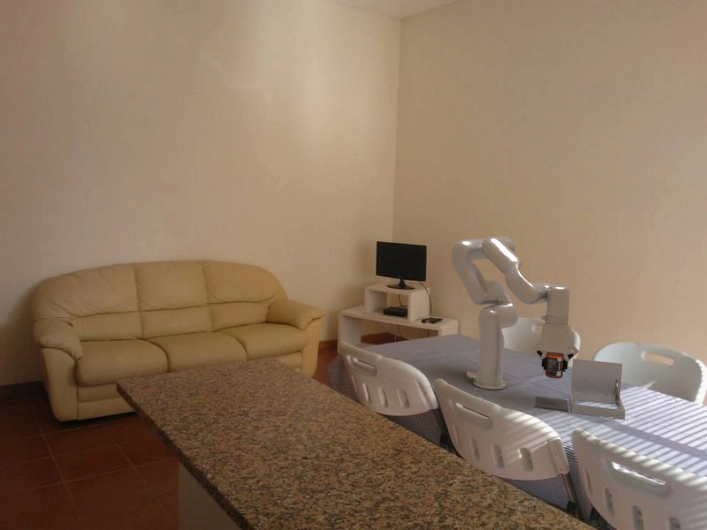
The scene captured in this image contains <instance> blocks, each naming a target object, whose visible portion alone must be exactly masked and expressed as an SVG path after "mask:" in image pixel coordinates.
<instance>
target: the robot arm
mask: <svg viewBox="0 0 707 530" xmlns="http://www.w3.org/2000/svg"><path fill="white" fill-rule="evenodd" d="M515 249H516V247H515V243H514V241H513V240H512V239H511V238H510V237H508V236H506V235H505V236H504V235H503V236H502V235H500V236H490V237H486V238H465V239H461V240H458V241H456V242H455V243H454V245H453V246H452V247H451V251H450V262H451V264H452V267H453V269H454V270H455V272H456V274H457V276H458V277H459V278H460V280H461V282H462V284H463V287H464V288H465V291H466V293H467V294H468V296H469V298H470V300H471V302H472V303H473V304H474V305H476V306H477V307H479V306H480V307H481V306H486V307H484V308H482V309H481V310H480V312H479V314H478V316H477V322H478V328H479V330H478V331H479V343H478V344H479V346H478V365H477V367H478V368H477V371H475V372H472V371H466V377H468V378H469V379H474V380H473V385H475V386H476V387H478V388H480V389H484V390H494V391H495V390H502V389H503V390H504V389H505V388H506V387H507V382H506V381H505V380H503V379H504V378H503V376H504V375H503V374H504V359H505V358H504V357H505V355H504V354H505V337H504V333H503V329H507V328H512V327H513V326H515V325H516V324H517V323H518V321H519V313H518V310H517V308H516V305H515V303H514V302H513V300H512V298H511V296H510V295H509V293H508V291H507V289H506V287H505V286H504V285H503V284H502V283H500V282H499V281H497V280H486V278H485V277H484V275H483V273H482V271H481V269H480V268H479V267H478V266H477V265H476V264H475V263H474V262H473V261H475V260H487V259H488V260H489V261H490V263H492V264H493V266H495V268H497V269H498V270H499V271H500V272H501V273H502V275H504V281H505V283H506V286H507V288H508V289H509V291H510V292H511V293H512V294H513V295H514V296H515V297H516V298H517V299H518V300H519V301H520V302H521V303H523V304H525V305H529V306H531V305H536V304H545V303H546V308H545V309H546V310H545V315H541V320H542V321H545V322H543V324H542V327H541V333H540V334H541V335H540V340H539V341H537V342H536V343H535V344H534V345H533V346H532V350H534V351H535V353H536V354H537V355H538V356H539V357H540V358H541V368H543V371H545V370H546V354H547V352H549V353H560V354H563V355H564V363H563V373H566V370H568V369H569V368H568V366H569V365H568V364H569V361H570V360H571V359H573V358H574V357H575V356H576V355H577V354H579V352H580V351H579V349H578V348H577V347H576V345H574V344H573V342H572V329H571V325H570V324H569V317H570V315H569V314H570V313H569V312H570V298H571V295H570V294H571V292H570V291H571V290H570V287H569V286H567V285H561V284H552V283H550V282H545V281H540V282H529V281H528V280H527V279H526V278H525V277H524V276H523V275H522V273H521V272H520V269H521V268H522V264H523V260H522V258H520V257H519V256H518V255H517V254H516V252H515ZM489 305H490V306H489ZM539 347H540V349H539ZM571 351H572V352H571Z"/></svg>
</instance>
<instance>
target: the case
mask: <svg viewBox="0 0 707 530" xmlns="http://www.w3.org/2000/svg"><path fill="white" fill-rule="evenodd" d="M571 369H572V370H571V382H570V398H569V399H570V400H569V401H570V407H571V413H573V414H580V415H586V416H587V415H588V416H595V417H600V416H603V417H602V418H608V417H613V418H612V419H615V418H618V419H617V420H624V421H625V419H626V410H625V406H624V403H623V401H622V398H621V386H622V378H623V377H622V375H623V363H618V362H609V361H602V360H601V361H599V360H590V359H583V358H582V359H581V358H572V368H571ZM575 401H582V402H591V403H599V404H605V403H608V404H607V405H613V404H615V405H614V406H617V409H616V408H609V407H604V406H603V407H601V406H594V405H587V404H578V403H576V402H575Z"/></svg>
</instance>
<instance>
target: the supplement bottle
mask: <svg viewBox="0 0 707 530" xmlns="http://www.w3.org/2000/svg"><path fill="white" fill-rule="evenodd" d="M563 363H564V355H563V354H560V353H549V352H547V354H546V370H544V371H545V373H544V375H545V376H546V377H547V378H550V379H555V380H557V379H561V378H563V375H564V372H563Z"/></svg>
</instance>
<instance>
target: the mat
mask: <svg viewBox="0 0 707 530" xmlns="http://www.w3.org/2000/svg"><path fill="white" fill-rule="evenodd" d="M534 401H535V402H534V408H536V409H544V410H550V411H552V410H553V411H558V412H565V413H569V404H568V399H560V398H555V397H545V396H537V395H535V400H534Z"/></svg>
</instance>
